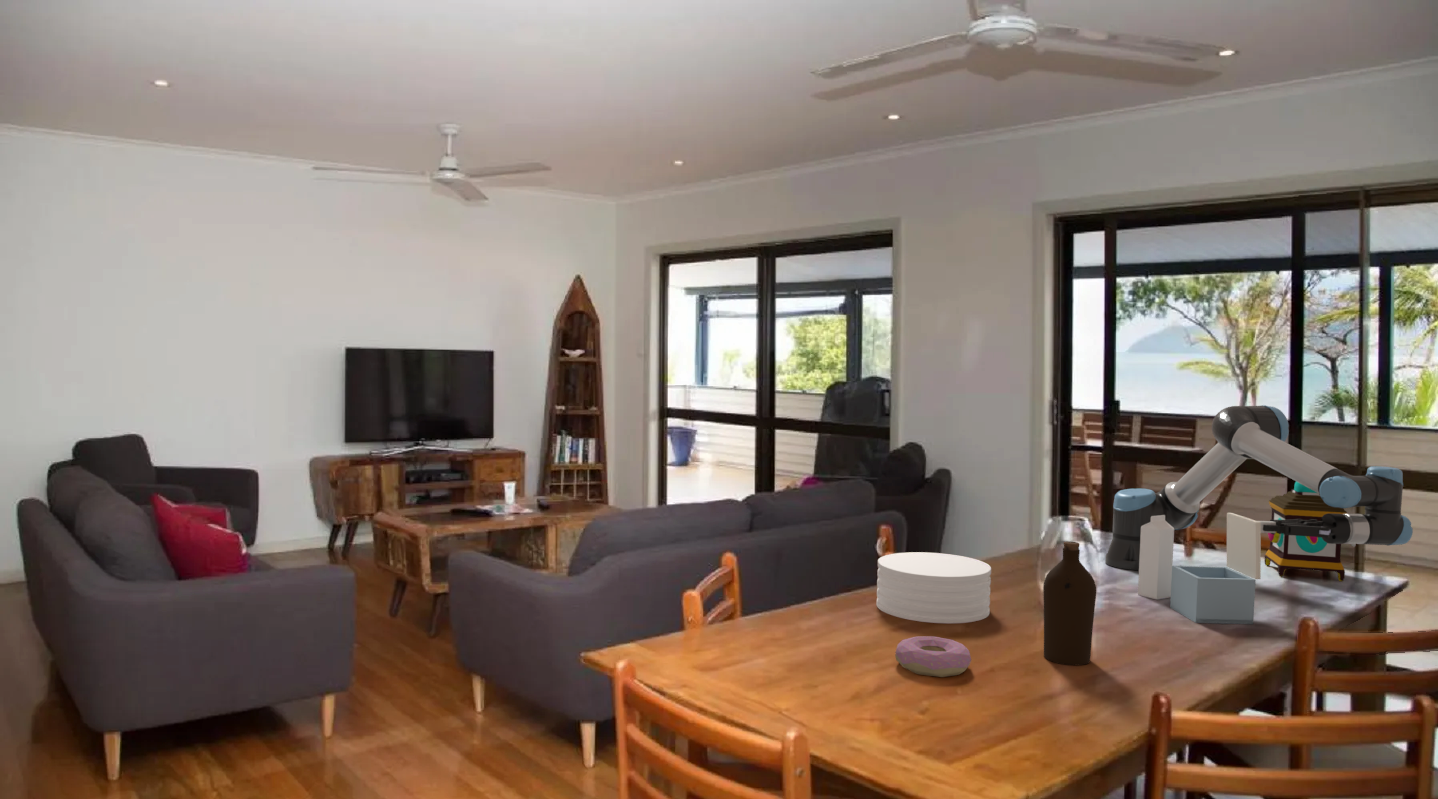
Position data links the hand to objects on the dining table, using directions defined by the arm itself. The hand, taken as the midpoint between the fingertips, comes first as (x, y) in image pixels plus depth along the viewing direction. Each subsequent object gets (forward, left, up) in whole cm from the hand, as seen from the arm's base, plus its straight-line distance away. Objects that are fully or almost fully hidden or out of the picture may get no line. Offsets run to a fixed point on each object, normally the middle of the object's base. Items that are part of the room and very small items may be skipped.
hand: (1248, 526), depth 246 cm
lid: (-1, -1, -5) cm, 5 cm away
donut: (+13, -97, -23) cm, 101 cm away
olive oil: (+16, -66, -23) cm, 72 cm away
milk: (-23, -6, -23) cm, 33 cm away
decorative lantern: (-34, +61, -23) cm, 73 cm away
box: (-3, -7, -23) cm, 24 cm away
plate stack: (-28, -72, -23) cm, 81 cm away
